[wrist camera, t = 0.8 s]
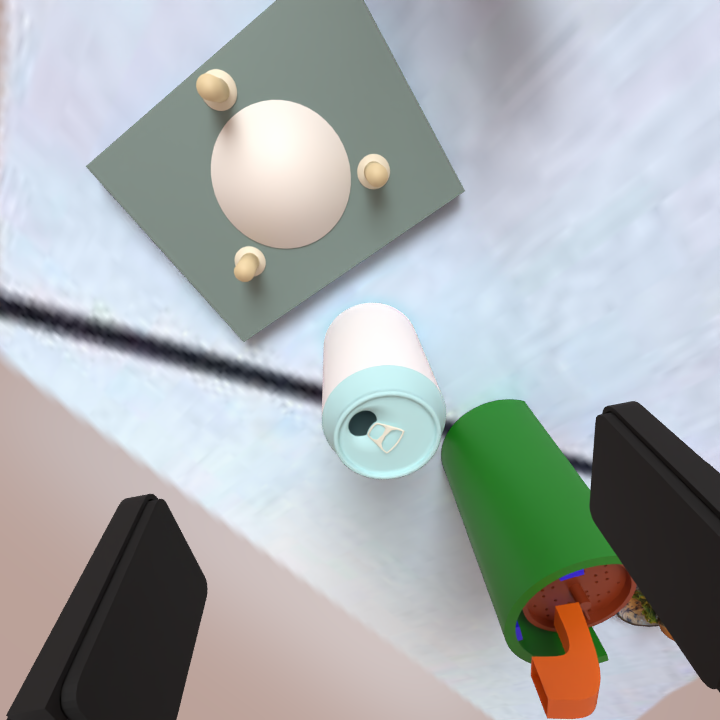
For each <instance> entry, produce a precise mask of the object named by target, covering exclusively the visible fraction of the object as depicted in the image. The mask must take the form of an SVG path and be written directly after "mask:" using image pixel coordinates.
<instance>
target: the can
mask: <svg viewBox="0 0 720 720" xmlns="http://www.w3.org/2000/svg"><path fill="white" fill-rule="evenodd" d="M445 421H446V406H445V402H444V399H443V396H442V394H441V391H440V389H439V387H438V384H437V382H436V379H435V377H434V375H433V372H432V370H431V368H430V365H429V363H428V360H427V358H426V356H425V353H424V351H423V348H422V346H421V344H420V341H419V339H418V336H417V334H416V332H415V329H414V327H413V325H412V323H411V322H410V320H409V319H408V318H407V317H406V316H405V315H404V314H403V313H402V312H400V311H399V310H397V309H395V308H394V307H391V306H389V305H385V304H381V303H364V304H359V305H356V306H353V307H351V308H349V309H347V310H345V311H344V312H342V313H341V314H340V315H338V316H337V317H336V318H335V319H334V321H333V322H332V323H331V325H330V326H329V328H328V330H327V332H326V335H325V339H324V353H323V395H322V427H323V432H324V435H325V437H326V439H327V441H328V443H329V445H330V446H331V448H332V449H333V450H334V451H335V452H336V453H337V455H338V457H339V458H340V460H341V461H342V462H343V463H344V464H345V465H346V466H347V467H348V468H349V469H350V470H352V471H354V472H355V473H357V474H359V475H362V476H365V477H368V478H373V479H394V478H399V477H403V476H406V475H409V474H411V473H413V472H415V471H417V470H418V469H420V468H421V467H423V466H424V465H425V464H426V463H427V462H428V461H429V460H430V459H431V458H432V457H433V455H434V454H435V452H436V451H437V449H438V446H439V443H440V440H441V434H442V432H443V429H444V426H445Z"/></svg>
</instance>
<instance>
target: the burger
mask: <svg viewBox="0 0 720 720" xmlns="http://www.w3.org/2000/svg"><path fill="white" fill-rule="evenodd" d="M617 616H618V617H619V618H621V619H622V620H623V621H625V622H627V623H629V624H631V625H637V626H647V627H651V626H660V629H661V631H662V632H663V633H664V634H665V635H666V636H667V637H668V638H670V639H672V640H673V641H675V640H674V639H673V638H672V636H671V635H670V633H669V632H668V630H667V629H666V627H665V626H664V624H663V623H662V621H661V620H660V618H659V617H658V616H657V614H656V613H655V611H654V610H653V608H652V607H651V605H650V604H649V602H648V601H647V599H646V598H645V596H644V595H643V594H642V592H641V591H640V589H639V588H638V586H637V585H636V590H635V592H634V594H633V596H632V598H631V599H630V601H629V602H628V603H627V605H626V606H625V607H624V608H623V609H621V610H620V611H619V612H618V613H617Z"/></svg>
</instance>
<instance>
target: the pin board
mask: <svg viewBox="0 0 720 720" xmlns="http://www.w3.org/2000/svg"><path fill="white" fill-rule="evenodd" d="M86 167H87V168H88V169H89V170H90V172H91V173H92V174H93V175H94V176H95V177H96V178H97V179H98V180H99V182H100V183H101V184H102V185H103V186H104V187H105V188H106V189H107V190H108V192H109V193H110V194H111V195H112V196H113V197H114V198H115V199H116V200H117V202H118V203H119V204H120V205H121V206H122V207H123V208H124V209H125V210H126V212H127V213H128V214H129V215H130V216H131V217H132V218H133V219H134V220H135V222H136V223H137V224H138V225H139V226H140V227H141V228H142V229H143V230H144V232H145V233H146V234H147V235H148V236H149V237H150V238H151V239H152V240H153V242H154V243H155V244H156V245H157V246H158V247H159V248H160V249H161V251H162V252H163V253H164V254H165V255H166V256H167V257H168V258H169V259H170V261H171V262H172V263H173V264H174V265H175V266H176V267H177V268H178V269H179V271H180V272H181V273H182V274H183V275H184V276H185V277H186V278H187V279H188V281H189V282H190V283H191V284H192V285H193V286H194V287H195V288H196V289H197V291H198V292H199V293H200V294H201V295H202V296H203V297H204V298H205V299H206V301H207V302H208V303H209V304H210V305H211V306H212V307H213V308H214V309H215V311H216V312H217V313H218V314H219V315H220V316H221V317H222V318H223V319H224V321H225V322H226V323H227V324H228V325H229V326H230V327H231V328H232V329H233V331H234V332H235V333H236V334H237V335H238V336H239V337H240V338H241V339H242V341H243V342H245V341H246V340H248V339H249V338H251V337H252V336H253V335H255V334H256V333H258V332H259V331H261V330H262V329H264V328H265V327H267V326H268V325H270V324H271V323H273V322H274V321H275V320H277V319H278V318H280V317H281V316H283V315H284V314H286V313H287V312H289V311H290V310H292V309H293V308H295V307H296V306H297V305H299V304H300V303H302V302H303V301H305V300H306V299H308V298H309V297H311V296H312V295H314V294H315V293H316V292H318V291H319V290H321V289H322V288H324V287H325V286H327V285H328V284H330V283H331V282H333V281H334V280H336V279H337V278H338V277H340V276H341V275H343V274H344V273H346V272H347V271H349V270H350V269H352V268H353V267H355V266H356V265H357V264H359V263H360V262H362V261H363V260H365V259H366V258H368V257H369V256H371V255H372V254H374V253H375V252H377V251H378V250H379V249H381V248H382V247H384V246H385V245H387V244H388V243H390V242H391V241H393V240H394V239H396V238H397V237H398V236H400V235H401V234H403V233H404V232H406V231H407V230H409V229H410V228H412V227H413V226H415V225H416V224H418V223H419V222H420V221H422V220H423V219H425V218H426V217H428V216H429V215H431V214H432V213H434V212H435V211H437V210H438V209H440V208H441V207H442V206H444V205H445V204H447V203H448V202H450V201H451V200H453V199H454V198H456V197H457V196H459V195H460V194H461V193H463V192H464V191H465V190H464V188H463V187H462V185H461V183H460V181H459V179H458V177H457V175H456V173H455V171H454V170H453V168H452V166H451V164H450V162H449V160H448V158H447V156H446V155H445V153H444V151H443V149H442V147H441V145H440V143H439V141H438V139H437V138H436V136H435V134H434V132H433V130H432V128H431V126H430V124H429V123H428V121H427V119H426V117H425V115H424V113H423V111H422V109H421V107H420V106H419V104H418V102H417V100H416V98H415V96H414V94H413V92H412V91H411V89H410V87H409V85H408V83H407V81H406V79H405V77H404V75H403V74H402V72H401V70H400V68H399V66H398V64H397V62H396V60H395V59H394V57H393V55H392V53H391V51H390V49H389V47H388V45H387V43H386V42H385V40H384V38H383V36H382V34H381V32H380V30H379V28H378V27H377V25H376V23H375V21H374V19H373V17H372V15H371V13H370V11H369V10H368V8H367V6H366V4H365V2H364V0H276V1H275V2H274V3H273V4H272V5H270V6H269V7H268V8H267V9H266V10H265V11H264V12H262V13H261V14H260V15H259V16H258V17H257V18H256V19H254V20H253V21H252V22H251V23H250V24H249V25H248V26H246V27H245V28H244V29H243V30H242V31H241V32H240V33H238V34H237V35H236V36H235V37H234V38H233V39H231V40H230V41H229V42H228V43H227V44H226V45H225V46H223V47H222V48H221V49H220V50H219V51H218V52H217V53H215V54H214V55H213V56H212V57H211V58H210V59H209V60H207V61H206V62H205V63H204V64H203V65H202V66H201V67H199V68H198V69H197V70H196V71H195V72H194V73H192V74H191V75H190V76H189V77H188V78H187V79H186V80H184V81H183V82H182V83H181V84H180V85H179V86H178V87H176V88H175V89H174V90H173V91H172V92H171V93H170V94H168V95H167V96H166V97H165V98H164V99H163V100H162V101H160V102H159V103H158V104H157V105H156V106H155V107H153V108H152V109H151V110H150V111H149V112H148V113H147V114H145V115H144V116H143V117H142V118H141V119H140V120H139V121H137V122H136V123H135V124H134V125H133V126H132V127H131V128H129V129H128V130H127V131H126V132H125V133H124V134H123V135H121V136H120V137H119V138H118V139H117V140H116V141H114V142H113V143H112V144H111V145H110V146H109V147H108V148H106V149H105V150H104V151H103V152H102V153H101V154H100V155H98V156H97V157H96V158H95V159H94V160H93V161H92V162H90V163H89V164H88V165H87V166H86Z"/></svg>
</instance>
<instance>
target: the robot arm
mask: <svg viewBox="0 0 720 720" xmlns="http://www.w3.org/2000/svg"><path fill="white" fill-rule="evenodd" d="M589 507H590V513H591V516H592V519H593V521H594V523H595V524H596V526H597V527H598V529H599V530H600V532H601V533H602V535H603V536H604V538H605V539H606V541H607V542H608V544H609V545H610V547H611V548H612V549H613V551H614V552H615V554H616V555H617V557H618V558H619V560H620V561H621V563H622V564H623V566H624V567H625V569H626V570H627V571H628V573H629V574H630V576H631V577H632V579H633V580H634V582H635V583H636V585H637V586H638V588H639V589H640V591H641V592H642V594H643V595H644V596H645V598H646V599H647V601H648V602H649V604H650V605H651V607H652V608H653V610H654V611H655V613H656V614H657V616H658V617H659V618H660V620H661V621H662V623H663V624H664V626H665V627H666V629H667V630H668V632H669V633H670V635H671V636H672V638H673V639H674V640H675V642H676V643H677V645H678V646H679V648H680V649H681V651H682V652H683V654H684V655H685V657H686V658H687V660H688V661H689V663H690V664H691V665H692V667H693V668H694V670H695V671H696V673H697V674H698V676H699V677H700V678H701V680H702V681H703V682H704V683H705V684H706V685H707V686H708V687H709V688H711V689H718V690H719V692H720V473H719V472H718V471H717V470H715V469H714V468H713V467H712V466H711V465H710V464H708V463H707V462H706V461H704V460H703V459H702V458H701V457H700V456H699V455H697V454H696V453H695V452H694V451H693V450H692V449H691V448H690V447H688V446H687V445H686V444H685V443H684V442H683V441H682V440H680V439H679V438H678V437H677V436H676V435H675V434H674V433H673V432H671V431H670V430H669V429H668V428H667V427H666V426H665V425H663V424H662V423H661V422H660V421H659V420H658V419H657V418H656V417H654V416H653V415H652V414H651V413H650V412H649V411H648V410H646V409H645V408H644V407H643V406H642V405H641V404H639V403H638V402H635V401H631V402H626V403H621V404H616V405H610V406H607V407H605V408H604V410H603V413H602V414H601V415H598V416H597V417H596V422H595V436H594V450H593V463H592V477H591V490H590V504H589ZM206 597H207V582H206V578H205V576H204V574H203V573H202V570H201V569H200V567H199V565H198V563H197V561H196V559H195V557H194V555H193V553H192V551H191V549H190V547H189V546H188V544H187V542H186V540H185V538H184V536H183V534H182V532H181V530H180V528H179V526H178V524H177V522H176V521H175V519H174V517H173V515H172V513H171V511H170V509H169V507H168V505H167V503H166V502H165V501H164V500H163V499H158V498H157V497H156V496H155V495H154V494H147V495H142V496H137V497H132V498H126V499H124V500H123V501H122V502H121V503H120V505H119V506H118V508H117V510H116V512H115V514H114V515H113V517H112V519H111V521H110V523H109V525H108V527H107V529H106V530H105V532H104V534H103V536H102V538H101V540H100V542H99V544H98V546H97V547H96V549H95V551H94V553H93V555H92V556H91V558H90V560H89V562H88V564H87V566H86V568H85V570H84V571H83V574H82V575H81V577H80V579H79V581H78V583H77V585H76V586H75V588H74V590H73V592H72V594H71V596H70V598H69V600H68V601H67V603H66V605H65V607H64V609H63V611H62V612H61V614H60V616H59V618H58V620H57V622H56V624H55V626H54V627H53V629H52V631H51V633H50V635H49V637H48V639H47V640H46V642H45V644H44V646H43V648H42V650H41V652H40V654H39V656H38V657H37V659H36V661H35V663H34V665H33V667H32V668H31V670H30V672H29V674H28V676H27V678H26V680H25V681H24V683H23V685H22V687H21V689H20V691H19V693H18V695H17V697H16V698H15V700H14V702H13V704H12V706H11V708H10V709H9V711H8V713H7V715H6V716H8V718H7V720H176V719H177V715H178V711H179V707H180V703H181V699H182V694H183V691H184V687H185V682H186V678H187V674H188V670H189V666H190V662H191V658H192V654H193V650H194V646H195V642H196V637H197V634H198V630H199V626H200V622H201V618H202V614H203V610H204V605H205V601H206Z"/></svg>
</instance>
